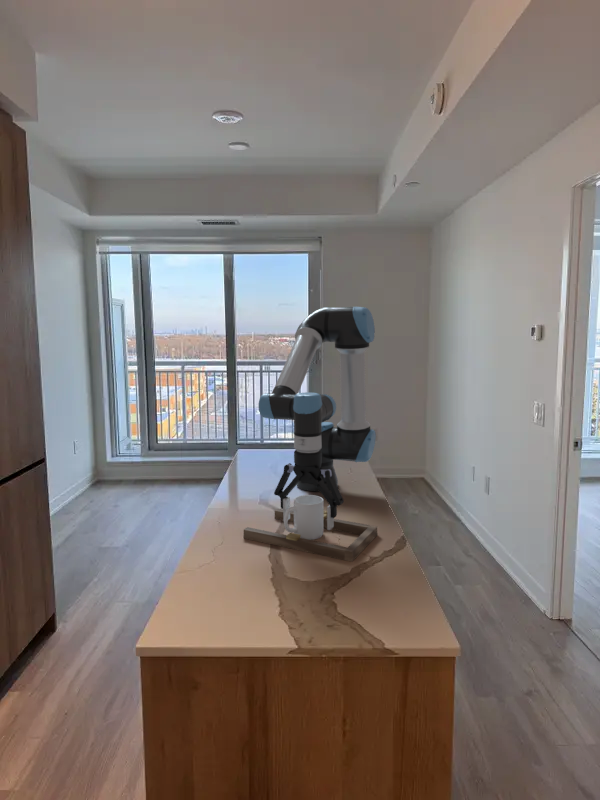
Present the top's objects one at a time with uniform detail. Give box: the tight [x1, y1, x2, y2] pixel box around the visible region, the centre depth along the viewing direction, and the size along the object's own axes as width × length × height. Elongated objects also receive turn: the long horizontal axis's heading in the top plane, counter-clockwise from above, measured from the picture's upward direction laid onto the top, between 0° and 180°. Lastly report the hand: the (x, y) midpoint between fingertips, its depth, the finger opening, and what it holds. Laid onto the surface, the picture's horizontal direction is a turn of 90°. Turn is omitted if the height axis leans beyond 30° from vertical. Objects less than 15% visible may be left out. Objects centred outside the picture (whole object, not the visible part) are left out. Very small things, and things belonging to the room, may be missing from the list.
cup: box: [283, 494, 325, 541], centre depth 145 cm, size 8×12×10 cm
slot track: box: [243, 508, 378, 562], centre depth 146 cm, size 22×32×3 cm
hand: (308, 524), depth 146 cm, fingers open, 13 cm apart
